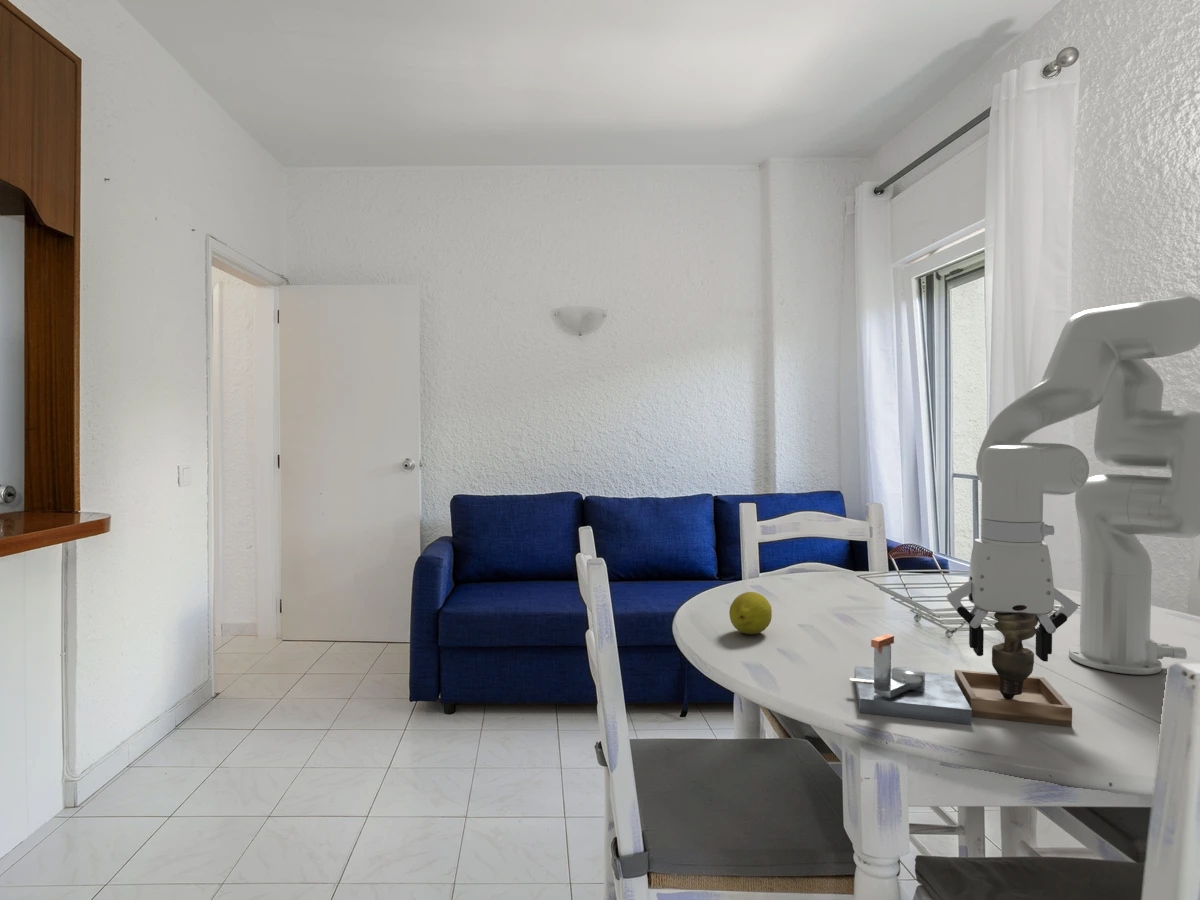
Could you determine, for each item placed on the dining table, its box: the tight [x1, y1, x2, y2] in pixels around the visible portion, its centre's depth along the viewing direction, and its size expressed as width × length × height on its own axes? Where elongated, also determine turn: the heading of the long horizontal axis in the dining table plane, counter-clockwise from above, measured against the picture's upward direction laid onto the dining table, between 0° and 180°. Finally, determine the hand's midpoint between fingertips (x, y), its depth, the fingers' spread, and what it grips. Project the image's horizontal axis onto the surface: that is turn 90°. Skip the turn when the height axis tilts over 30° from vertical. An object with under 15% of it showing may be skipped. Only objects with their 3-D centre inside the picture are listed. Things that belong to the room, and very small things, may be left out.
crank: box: [870, 633, 925, 698], centre depth 100 cm, size 11×4×8 cm, turn 128°
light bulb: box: [991, 605, 1039, 699], centre depth 100 cm, size 6×6×15 cm
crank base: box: [849, 665, 973, 726], centre depth 103 cm, size 15×14×2 cm
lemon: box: [728, 591, 773, 635], centre depth 136 cm, size 11×8×8 cm
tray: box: [954, 669, 1073, 728], centre depth 100 cm, size 12×12×2 cm
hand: (1009, 655), depth 100 cm, fingers open, 7 cm apart
